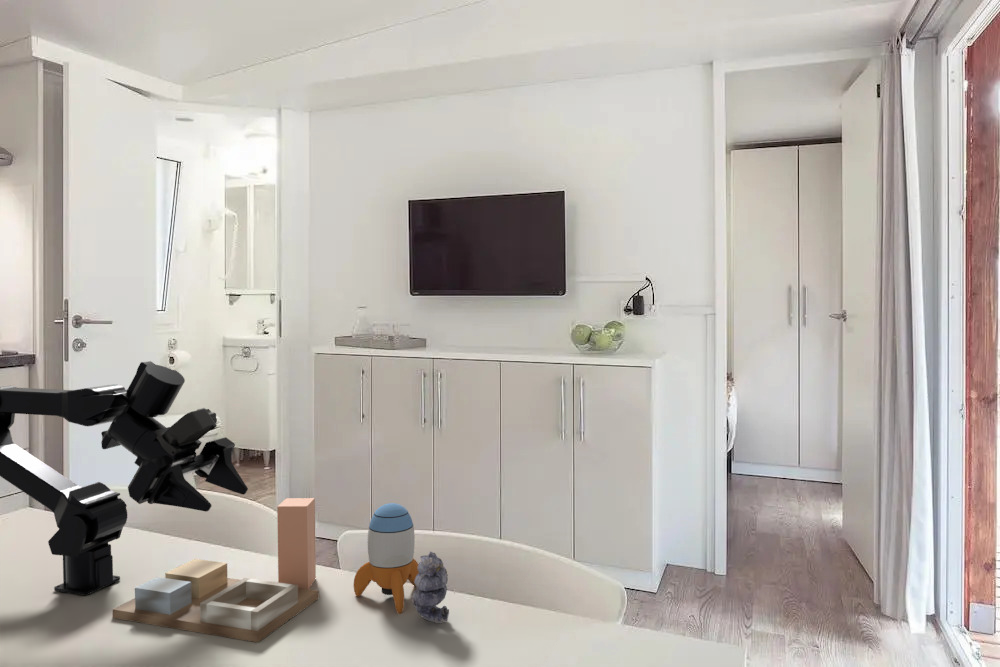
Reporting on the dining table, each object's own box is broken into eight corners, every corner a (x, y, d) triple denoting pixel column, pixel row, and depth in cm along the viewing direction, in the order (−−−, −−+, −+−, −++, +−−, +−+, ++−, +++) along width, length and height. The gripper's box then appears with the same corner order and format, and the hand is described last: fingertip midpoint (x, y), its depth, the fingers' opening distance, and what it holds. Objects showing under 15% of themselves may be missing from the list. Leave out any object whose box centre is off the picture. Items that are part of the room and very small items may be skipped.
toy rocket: (416, 621, 95) (392, 522, 93) (346, 627, 97) (321, 530, 95) (435, 582, 105) (414, 491, 103) (371, 588, 107) (350, 500, 105)
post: (278, 590, 103) (277, 506, 103) (287, 579, 108) (286, 498, 107) (308, 590, 103) (307, 506, 103) (315, 578, 108) (314, 498, 108)
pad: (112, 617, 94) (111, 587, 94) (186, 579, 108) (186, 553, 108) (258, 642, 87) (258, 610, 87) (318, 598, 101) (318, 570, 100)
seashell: (455, 617, 94) (455, 546, 94) (440, 635, 89) (439, 560, 89) (421, 612, 96) (420, 542, 96) (403, 629, 91) (403, 555, 90)
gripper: (128, 404, 92) (216, 469, 90) (212, 389, 111) (286, 443, 108) (91, 470, 94) (177, 536, 91) (180, 445, 112) (253, 499, 110)
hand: (228, 499), depth 100 cm, fingers open, 9 cm apart
